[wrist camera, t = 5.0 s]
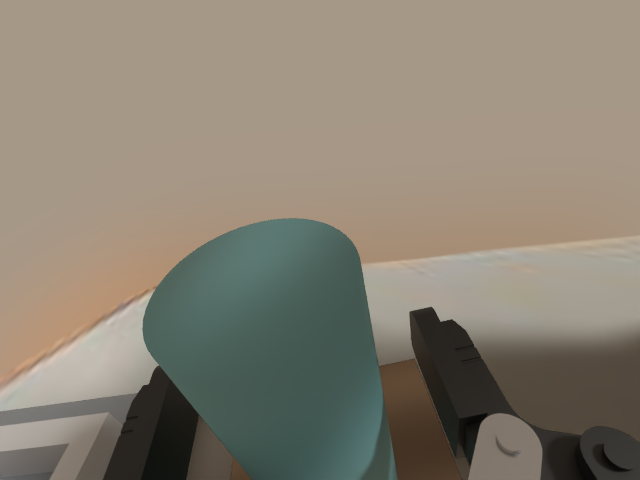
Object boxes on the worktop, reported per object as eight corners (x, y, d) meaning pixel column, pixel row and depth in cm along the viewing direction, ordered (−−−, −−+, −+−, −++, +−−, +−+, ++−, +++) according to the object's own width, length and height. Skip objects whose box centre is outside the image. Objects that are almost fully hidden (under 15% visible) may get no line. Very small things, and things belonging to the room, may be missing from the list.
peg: (323, 404, 17) (250, 207, 11) (417, 457, 15) (398, 237, 8) (260, 505, 14) (100, 321, 8) (363, 596, 12) (258, 434, 5)
